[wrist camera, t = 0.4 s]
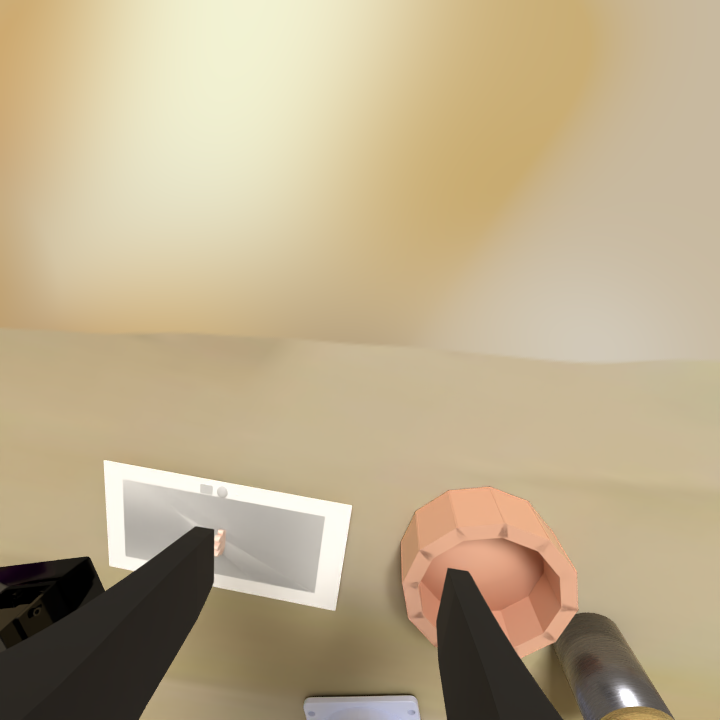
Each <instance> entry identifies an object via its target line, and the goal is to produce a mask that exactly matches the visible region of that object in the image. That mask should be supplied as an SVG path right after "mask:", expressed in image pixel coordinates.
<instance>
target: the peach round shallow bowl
mask: <svg viewBox="0 0 720 720" xmlns="http://www.w3.org/2000/svg"><path fill="white" fill-rule="evenodd" d="M401 565H402V585H403V590H404V596H405V602H406V607H407V613H408V619H409V620H410V621H411V622H412V623H413V624H414V625H415V626H416V627H417V628H418V629H419V630H420V631H421V632H422V633H423V634H424V636H425V637H426V638H427V639H428V640H429V641H430V642H431V643H432V644H433V645H434V646H435V647H438V646H437V628H436V620H437V615H438V610H439V606H440V601H441V596H442V592H443V587H444V582H445V578H446V573H447V568H452V569H458V570H465V571H469V573H470V574H471V576H472V577H473V579H474V581H475V583H476V585H477V587H478V589H479V590H480V592H481V594H482V596H483V598H484V599H485V601H486V603H487V605H488V606H489V608H490V610H491V612H492V613H493V615H494V617H495V618H496V620H497V622H498V623H499V625H500V627H501V628H502V630H503V632H504V633H505V635H506V636H507V638H508V640H509V641H510V643H511V645H512V646H513V648H514V649H515V651H516V653H517V654H518V656H519V657H520V658H522V657H524V656H526V655H529V654H531V653H533V652H535V651H537V650H539V649H541V648H543V647H545V646H547V645H550V644H552V643H554V642H556V641H557V639H558V638H559V636H560V635H561V634H562V632H563V631H564V629H565V628H566V626H567V625H568V624H569V622H570V621H571V619H572V618H573V617H574V615H575V614H576V612H577V611H578V610H579V609H578V591H577V571H576V570H575V568H574V566H573V565H572V563H571V561H570V560H569V558H568V556H567V555H566V553H565V551H564V550H563V548H562V546H561V545H560V543H559V541H558V540H557V538H556V536H555V535H554V533H553V531H552V530H551V529H550V528H549V526H548V525H547V524H546V523H545V522H544V520H543V519H542V518H541V517H540V515H539V514H538V513H537V512H536V510H535V509H534V508H533V507H532V506H531V504H530V503H529V501H526V500H523V499H521V498H518V497H515V496H513V495H510V494H508V493H505V492H502V491H500V490H497V489H494V488H492V487H482V488H471V489H460V490H450V491H447V492H445V493H444V494H442V495H441V496H439V497H437V498H436V499H434V500H433V501H431V502H430V503H428V504H426V505H425V506H423V507H422V508H420V509H418V510H416V511H415V514H414V516H413V518H412V520H411V522H410V524H409V526H408V528H407V530H406V532H405V534H404V536H403V539H402V540H401Z"/></svg>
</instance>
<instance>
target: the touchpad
mask: <svg viewBox="0 0 720 720" xmlns="http://www.w3.org/2000/svg"><path fill="white" fill-rule="evenodd" d="M104 474H105V493H106V511H107V529H108V547H109V565H110V566H112V567H117V568H122V569H127V570H132V571H135V570H137V569H138V568H139V567H141V566H142V565H144V564H145V563H146V562H148V561H149V560H151V559H152V558H153V557H155V556H156V555H157V554H159V553H160V552H161V551H163V550H164V549H165V548H167V547H168V546H169V545H171V544H172V543H173V542H175V541H176V540H177V539H179V538H180V537H181V536H183V535H184V534H185V533H187V532H188V531H190V530H191V529H192V528H194V527H195V526H198V527H204V528H210V529H214V583H213V587H218V588H223V589H228V590H233V591H238V592H243V593H248V594H253V595H258V596H263V597H268V598H273V599H278V600H283V601H288V602H293V603H298V604H303V605H308V606H313V607H318V608H323V609H328V610H333V611H335V610H336V604H337V598H338V591H339V585H340V579H341V572H342V566H343V560H344V554H345V547H346V541H347V535H348V529H349V522H350V516H351V510H352V505H347V504H341V503H336V502H331V501H325V500H320V499H314V498H309V497H303V496H298V495H292V494H287V493H281V492H276V491H271V490H265V489H260V488H254V487H249V486H243V485H238V484H232V483H227V482H221V481H216V480H210V479H205V478H200V477H194V476H189V475H183V474H178V473H172V472H167V471H161V470H156V469H150V468H145V467H140V466H134V465H129V464H123V463H118V462H112V461H107V460H104Z"/></svg>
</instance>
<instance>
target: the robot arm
mask: <svg viewBox="0 0 720 720" xmlns="http://www.w3.org/2000/svg"><path fill="white" fill-rule="evenodd" d="M213 583H214V529H210V528H204V527H198V526H195V527H194V528H192V529H191V530H190V531H188V532H187V533H185V534H184V535H183V536H181V537H180V538H179V539H177V540H176V541H175V542H173V543H172V544H171V545H169V546H168V547H167V548H165V549H164V550H163V551H161V552H160V553H159V554H157V555H156V556H155V557H153V558H152V559H151V560H149V561H148V562H146V563H145V564H144V565H142V566H141V567H139V568H138V569H137V570H135V571H134V572H132V573H131V574H130V575H128V576H127V577H125V578H124V579H123V580H121V581H120V582H118V583H117V584H115V585H114V586H112V587H111V588H109V589H108V590H106V591H105V592H103V593H102V594H100V595H99V596H97V597H96V598H94V599H93V600H91V601H90V602H88V603H87V604H85V605H84V606H82V607H80V608H79V609H77V610H76V611H74V612H72V613H71V614H69V615H67V616H66V617H64V618H62V619H61V620H59V621H57V622H55V623H54V624H52V625H50V626H49V627H47V628H45V629H43V630H42V631H40V632H38V633H36V634H35V635H33V636H31V637H29V638H27V639H25V640H24V641H22V642H20V643H18V644H16V645H14V646H12V647H10V648H8V649H6V650H5V651H3V652H1V653H0V720H139V718H140V716H141V714H142V713H143V711H144V709H145V707H146V705H147V704H148V702H149V700H150V699H151V697H152V695H153V694H154V692H155V690H156V689H157V687H158V685H159V683H160V682H161V680H162V678H163V677H164V675H165V673H166V672H167V670H168V668H169V666H170V665H171V663H172V661H173V660H174V658H175V656H176V655H177V653H178V651H179V650H180V648H181V646H182V644H183V643H184V641H185V639H186V638H187V636H188V634H189V632H190V631H191V629H192V627H193V625H194V624H195V622H196V620H197V618H198V616H199V614H200V612H201V610H202V608H203V606H204V604H205V601H206V599H207V597H208V595H209V592H210V590H211V588H212V586H213ZM436 628H437V646H438V661H439V669H440V676H441V682H442V689H443V695H444V702H445V708H446V715H447V720H563V719H562V717H561V716H560V715H559V713H558V712H557V711H556V709H555V708H554V707H553V705H552V704H551V702H550V701H549V700H548V698H547V697H546V695H545V694H544V693H543V691H542V690H541V688H540V687H539V685H538V684H537V683H536V681H535V680H534V678H533V677H532V675H531V674H530V672H529V671H528V669H527V668H526V666H525V665H524V663H523V662H522V660H521V659H520V657H519V656H518V654H517V653H516V651H515V649H514V648H513V646H512V645H511V643H510V641H509V640H508V638H507V636H506V635H505V633H504V632H503V630H502V628H501V627H500V625H499V623H498V622H497V620H496V618H495V617H494V615H493V613H492V612H491V610H490V608H489V606H488V605H487V603H486V601H485V599H484V598H483V596H482V594H481V592H480V590H479V589H478V587H477V585H476V583H475V581H474V579H473V577H472V576H471V574H470V573H469V571H465V570H458V569H452V568H447V573H446V578H445V582H444V587H443V592H442V596H441V601H440V606H439V610H438V615H437V620H436ZM303 708H304V712H305V715H306V719H307V720H421V718H420V712H419V706H418V701H417V699H416V698H415V697H414V696H411V695H396V696H350V697H309V698H307V699H305V701H304V705H303Z"/></svg>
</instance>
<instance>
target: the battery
mask: <svg viewBox="0 0 720 720" xmlns="http://www.w3.org/2000/svg"><path fill="white" fill-rule="evenodd" d="M552 644H553V647H554V649H555V652H556V654H557V656H558V659H559V661H560V664H561V666H562V668H563V671H564V673H565V676H566V678H567V680H568V683H569V685H570V687H571V690H572V692H573V695H574V697H575V699H576V702H577V704H578V707H579V709H580V711H581V714H582V716H583V718H584V720H675V719H674V718H673V716H672V714H671V713H670V711H669V710H668V708H667V706H666V705H665V703H664V702H663V700H662V698H661V697H660V695H659V693H658V692H657V690H656V689H655V687H654V685H653V684H652V682H651V681H650V679H649V677H648V676H647V674H646V672H645V671H644V669H643V668H642V666H641V664H640V663H639V661H638V660H637V658H636V656H635V655H634V653H633V651H632V650H631V648H630V647H629V645H628V643H627V642H626V640H625V639H624V637H623V635H622V634H621V632H620V630H619V629H618V627H617V626H616V624H615V623H614V622H613V621H611V620H610V619H608V618H607V617H605V616H602V615H599V614H595V613H579V614H575V615H574V617H573V618H572V619H571V621H570V622H569V624H568V625H567V626H566V628H565V629H564V631H563V632H562V634H561V635H560V636H559V638H558V639H557V641H556V642H554V643H552Z"/></svg>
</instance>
